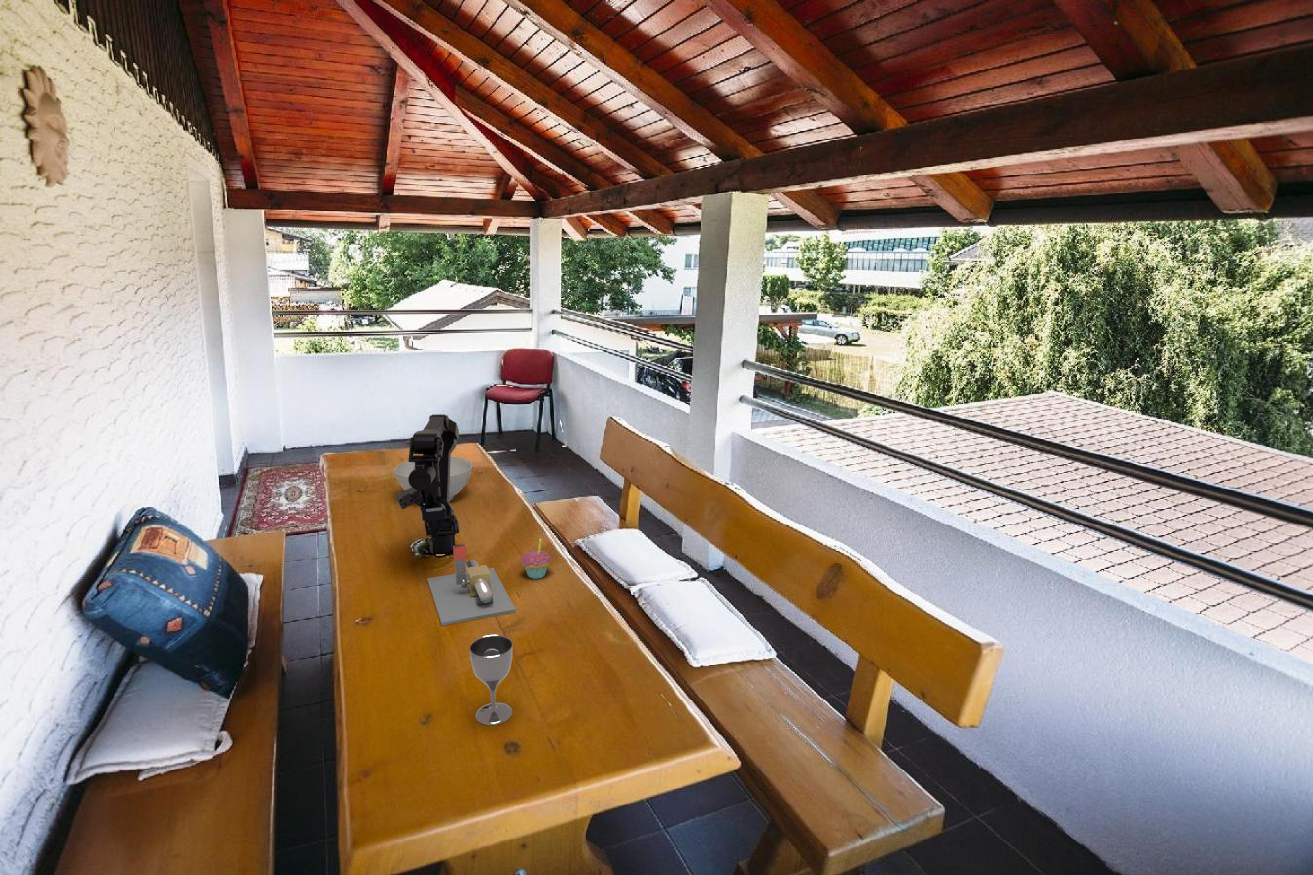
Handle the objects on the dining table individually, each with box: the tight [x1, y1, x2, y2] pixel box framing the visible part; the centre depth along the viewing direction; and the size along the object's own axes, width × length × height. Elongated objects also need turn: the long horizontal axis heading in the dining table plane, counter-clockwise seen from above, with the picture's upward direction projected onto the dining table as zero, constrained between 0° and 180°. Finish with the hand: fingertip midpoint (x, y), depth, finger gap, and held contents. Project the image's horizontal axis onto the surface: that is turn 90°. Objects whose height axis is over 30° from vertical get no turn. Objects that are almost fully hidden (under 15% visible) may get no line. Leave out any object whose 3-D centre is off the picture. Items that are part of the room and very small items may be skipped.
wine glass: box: [469, 634, 513, 726], centre depth 140 cm, size 8×8×15 cm
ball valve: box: [465, 559, 493, 606], centre depth 189 cm, size 20×6×6 cm, turn 25°
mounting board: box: [427, 567, 517, 626], centre depth 189 cm, size 26×18×1 cm
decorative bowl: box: [393, 456, 473, 502], centre depth 259 cm, size 27×27×12 cm
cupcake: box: [519, 537, 552, 580], centre depth 201 cm, size 9×8×12 cm
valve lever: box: [453, 543, 467, 588], centre depth 186 cm, size 2×3×12 cm
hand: (431, 532), depth 199 cm, fingers open, 9 cm apart
